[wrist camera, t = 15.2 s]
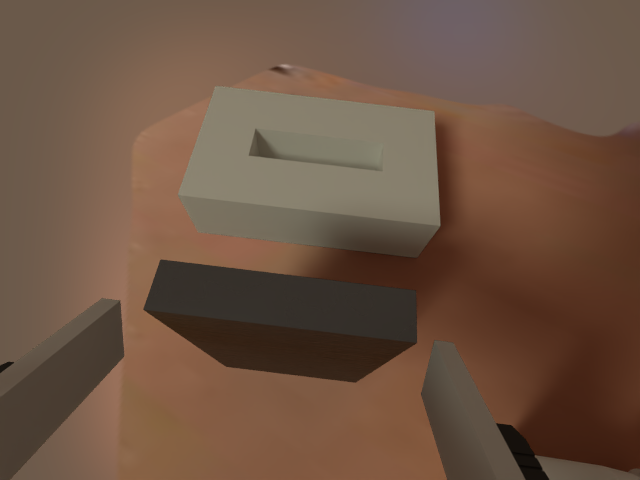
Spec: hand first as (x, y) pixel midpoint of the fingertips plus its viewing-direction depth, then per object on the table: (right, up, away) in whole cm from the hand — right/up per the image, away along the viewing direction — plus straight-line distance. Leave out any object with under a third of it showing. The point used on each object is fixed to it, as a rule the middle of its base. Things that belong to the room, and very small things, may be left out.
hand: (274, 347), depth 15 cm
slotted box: (+1, +9, +20) cm, 22 cm away
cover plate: (0, -5, +13) cm, 14 cm away
